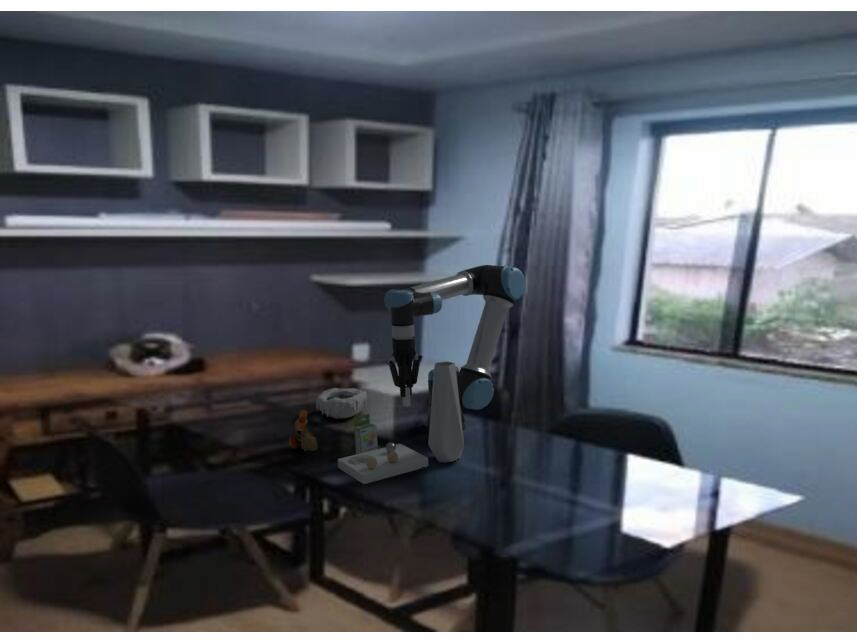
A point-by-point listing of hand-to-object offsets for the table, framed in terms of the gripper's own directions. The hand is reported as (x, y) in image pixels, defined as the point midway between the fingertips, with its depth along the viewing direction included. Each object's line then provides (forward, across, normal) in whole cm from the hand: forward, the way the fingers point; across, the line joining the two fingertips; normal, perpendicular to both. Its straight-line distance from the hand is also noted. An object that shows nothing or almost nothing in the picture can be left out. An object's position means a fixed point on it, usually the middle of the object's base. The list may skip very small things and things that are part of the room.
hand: (406, 405), depth 262 cm
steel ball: (+13, +7, 0) cm, 15 cm away
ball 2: (+13, +11, +8) cm, 19 cm away
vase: (+18, -9, +11) cm, 23 cm away
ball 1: (+13, +19, +8) cm, 25 cm away
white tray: (+18, +12, +3) cm, 22 cm away
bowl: (+18, -3, -57) cm, 60 cm away
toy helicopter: (+18, +26, -27) cm, 42 cm away
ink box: (+18, +10, -12) cm, 24 cm away
